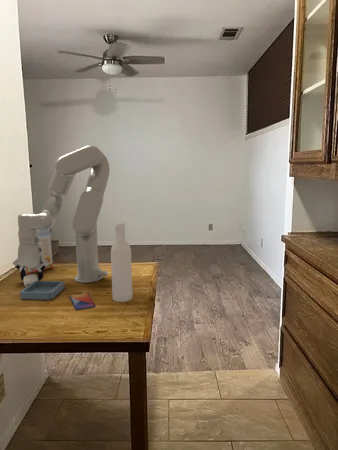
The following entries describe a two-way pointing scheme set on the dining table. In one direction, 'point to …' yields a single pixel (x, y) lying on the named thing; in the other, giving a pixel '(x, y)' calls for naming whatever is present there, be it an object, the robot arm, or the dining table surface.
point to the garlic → (30, 279)
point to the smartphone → (82, 301)
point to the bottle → (121, 266)
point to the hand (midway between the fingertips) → (32, 279)
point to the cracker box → (46, 250)
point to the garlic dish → (42, 290)
